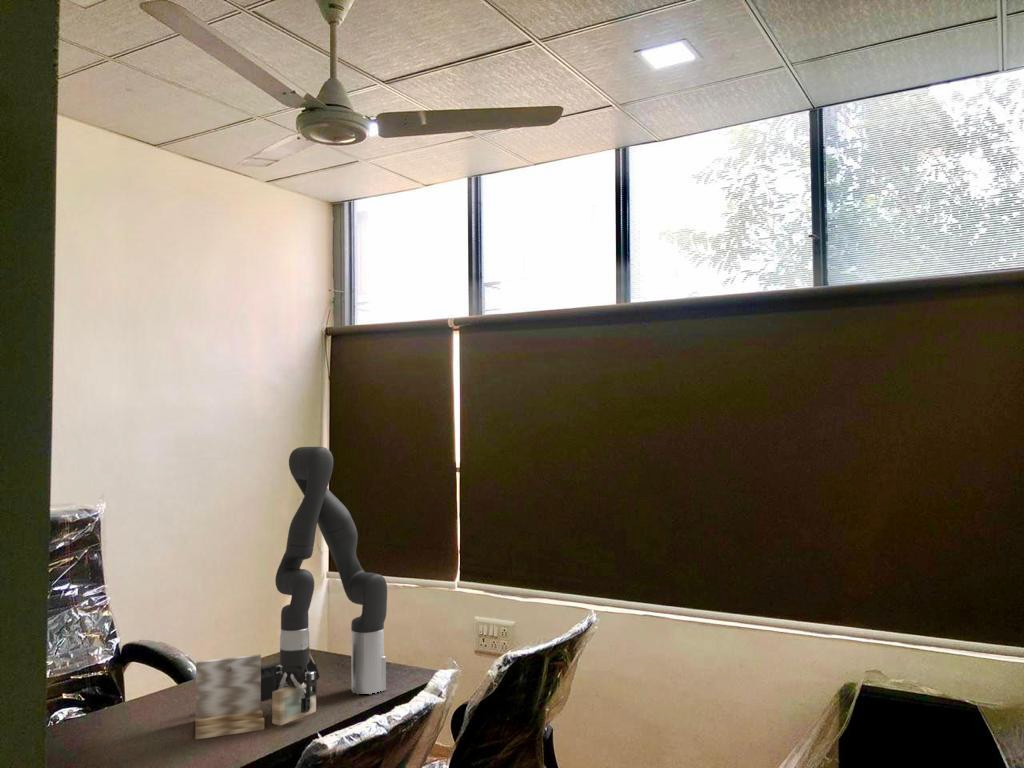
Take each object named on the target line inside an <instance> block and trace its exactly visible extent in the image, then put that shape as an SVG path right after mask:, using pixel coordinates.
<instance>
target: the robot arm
mask: <svg viewBox="0 0 1024 768" xmlns="http://www.w3.org/2000/svg"><path fill="white" fill-rule="evenodd" d="M288 467H289V471H290V473H291V476H292V477H293V479H294V481H295V483H296V484H297V486H298V488H299V490H300V491H301V492H302V494H303V496H304V497H303V498H302V501H301V503H300V505H299V507H298V508H297V510H296V511H295V513H294V516H293V517H292V519H291V521H290V524H289V525H290V526H289V529H288V534H287V539H286V540H287V541H286V546H285V552H284V554H283V556H282V558H281V560H280V563H279V566H278V568H277V571H276V574H275V586H276V590H277V591H278V592H279V593H280V594H282V595H287V596H291V597H290V601H289V602H290V603H289V604H286V605H284V606H282V608H281V612H280V635H279V661H280V665H277V666H274V668H273V688H274V689H277V690H279V689H282V688H285V687H287V686H290V685H292V686H294V687H296V689H297V691H299V692H300V694H301V697H302V698H301V712H302V713H306V712H308V711H309V710H310V697H311V696H313V695H316V696H317V694H318V691H317V689H318V688H317V681H316V671H313V672H309V671H308V670H307V664H308V663H309V653H310V629H309V610H310V607H311V603H312V599H313V596H314V590H315V578H314V576H313V574H312V572H311V571H309V570H308V569H305V568H301V566H302V564H303V562H304V560H309V559H310V558H311V557H312V556H313V552H314V548H315V547H314V546H315V541H316V531H317V527H318V528H319V531H320V533H321V536H322V537H323V540H324V542H325V543H326V546H327V548H328V549H329V553H330V554H331V557H332V559H333V561H334V564H335V566H336V570H337V571H338V575H339V578H340V580H341V584H342V587H343V590H344V593H345V595H346V597H347V599H348V600H349V601H350V602H351V603H353V604H355V605H361V607H362V608H361V615H360V616H356V617H355V618H353V619H352V621H351V626H350V628H351V629H350V631H351V634H350V635H351V639H350V640H351V641H350V643H351V649H350V651H351V685H350V686H351V692H352V693H353V694H355V693H356V694H355V695H359V694H369V695H373V694H372V693H375V694H378V693H377V692H379V693H381V692H386V691H385V690H387V675H386V673H387V670H386V669H387V668H386V667H387V663H386V656H385V641H384V640H385V638H384V636H385V635H384V634H385V633H384V632H385V631H384V628H385V626H384V625H385V621H386V618H387V608H388V607H387V606H388V584H387V580H386V578H385V577H384V576H383V575H382V574H380V573H374V572H366V571H365V570H364V569H363V568H362V566H361V564H360V561H359V559H358V556H357V547H358V537H359V536H358V535H359V534H358V530H357V526H356V525H355V521H354V520H353V518H352V515H351V513H350V511H349V510H348V508H347V507H346V506H345V505H344V504H343V502H341V501H340V500H339V499H338V497H336V495H334V494H333V493H332V491H331V490H329V488H328V486H329V484H330V481H331V477H332V474H333V469H334V456H333V454H332V451H330V450H329V449H328V448H327V447H324V446H299V447H296V448H295V449H293V450H292V452H290V455H289V458H288ZM278 679H279V683H278ZM303 682H304V685H302V684H303ZM301 685H302V686H301ZM311 687H312V691H311ZM304 689H305V690H306V693H305V692H304ZM380 691H381V692H380Z"/></svg>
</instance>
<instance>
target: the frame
mask: <svg viewBox="0 0 1024 768" xmlns="http://www.w3.org/2000/svg"><path fill="white" fill-rule="evenodd" d="M302 685H304V682H303V684H302ZM302 685H301V686H302ZM311 691H312V687H311ZM304 692H305V693H306V690H305V689H304ZM301 698H302V697H301V694H300V692H299V691H297V689H296V687H294V686H292V685H290V686H287V687H285V688H282V689H279V690H276V691H273V692H272V699H271V700H272V702H271V703H272V704H271V705H272V709H271V710H272V712H271V716H272V717H271V718H272V719H271V720H272V721H271V722H272V724H274V725H277V726H282V725H285V724H287V723H290V721H291V722H293V721H296V720H298V719H301V718H303V717H305V716H308V715H311V714H313V713H315V712H317V694H316V695H313V696H311V697H310V710H309V711H308V712H306V713H302V712H301Z"/></svg>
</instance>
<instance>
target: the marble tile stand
mask: <svg viewBox="0 0 1024 768" xmlns="http://www.w3.org/2000/svg"><path fill="white" fill-rule="evenodd" d="M261 666H262V656H261V654H253V655H243V656H235V657H226V658H216V659H206V660H198V661H195V668H196V669H195V734H194V735H195V738H194V739H195V740H202V739H208V738H215V737H221V736H222V737H223V736H229V735H236V734H243V733H248V732H257V731H264V730H265V717H264V715H263V710H261V709H262V707H261V706H262V705H261V703H262V702H261Z"/></svg>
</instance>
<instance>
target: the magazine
mask: <svg viewBox="0 0 1024 768" xmlns="http://www.w3.org/2000/svg"><path fill="white" fill-rule="evenodd" d="M277 665H280V660H279V661H276V662H273V663H270V664H266V665H261V701H262V702H265V700H266V701H269V699H270V700H272V692H273V691H276V690H277V689H274V688H273V668H274V666H277ZM307 670H308V671H309V672H313V671H316V682H317V681H318V680H319V679H320V673H319V670H318V666H317V664H316V663H315V661H314V659H313V657H312V654H311V652H309V663H308V664H307ZM278 683H279V679H278Z"/></svg>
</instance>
